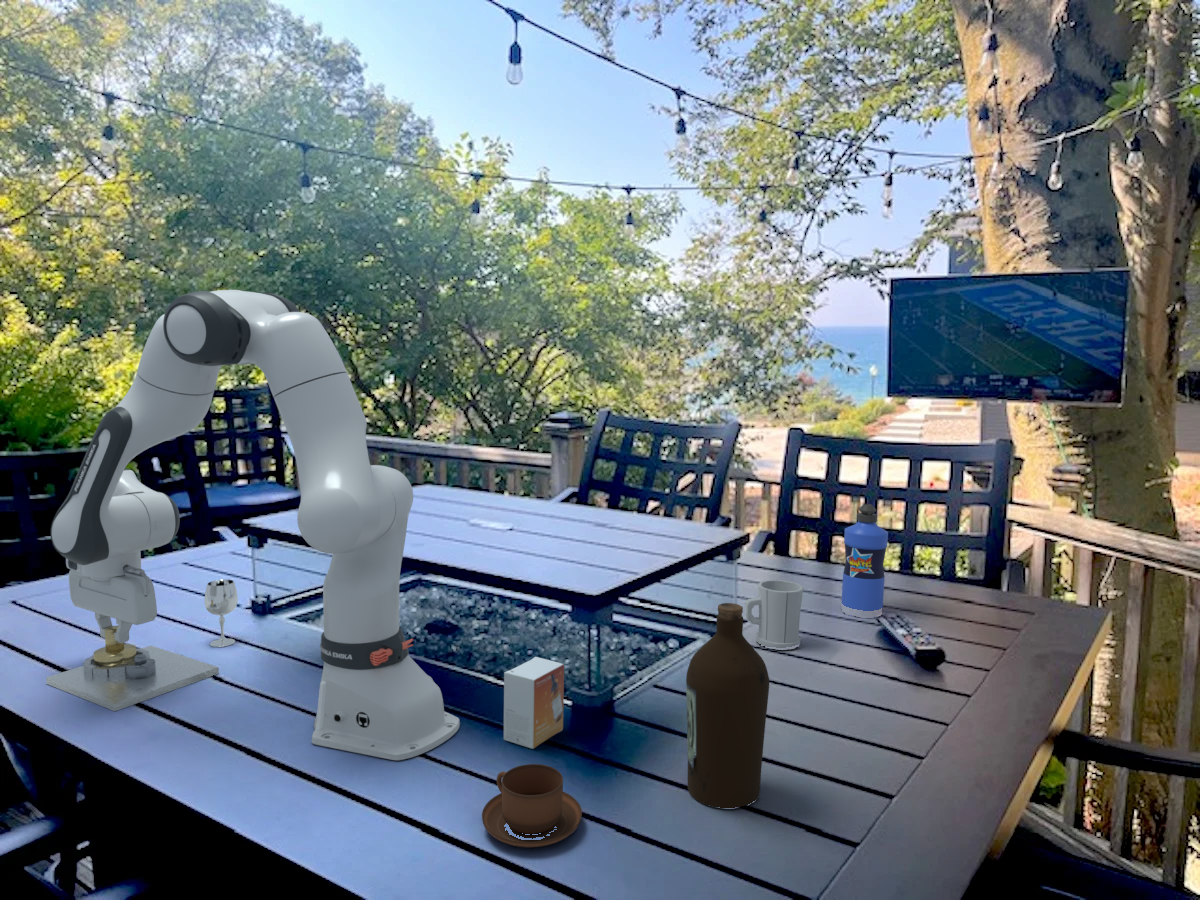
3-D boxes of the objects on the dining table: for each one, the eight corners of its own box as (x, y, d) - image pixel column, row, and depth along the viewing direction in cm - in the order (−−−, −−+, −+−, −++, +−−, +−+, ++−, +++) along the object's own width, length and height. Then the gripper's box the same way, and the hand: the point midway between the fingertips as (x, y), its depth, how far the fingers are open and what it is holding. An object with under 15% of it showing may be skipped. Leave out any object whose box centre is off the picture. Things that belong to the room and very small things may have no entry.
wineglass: (226, 649, 153) (224, 588, 151) (199, 646, 154) (197, 585, 153) (245, 639, 158) (243, 579, 157) (219, 636, 159) (217, 577, 158)
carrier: (218, 673, 141) (218, 649, 141) (114, 711, 126) (113, 684, 125) (150, 651, 151) (149, 628, 150) (46, 683, 135) (45, 658, 135)
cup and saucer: (463, 843, 93) (463, 793, 93) (510, 792, 105) (510, 747, 104) (557, 868, 89) (558, 816, 89) (596, 812, 100) (597, 765, 100)
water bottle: (848, 603, 190) (853, 499, 187) (888, 611, 185) (894, 504, 182) (834, 613, 183) (840, 504, 180) (875, 621, 177) (882, 509, 174)
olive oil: (763, 774, 110) (771, 597, 107) (765, 817, 100) (774, 622, 97) (685, 766, 112) (691, 592, 109) (679, 808, 101) (686, 616, 99)
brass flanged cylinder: (144, 656, 142) (143, 626, 141) (108, 668, 136) (107, 636, 135) (121, 650, 144) (120, 620, 144) (85, 661, 139) (84, 630, 138)
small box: (532, 750, 116) (533, 680, 114) (502, 740, 119) (502, 671, 117) (564, 729, 122) (565, 663, 121) (534, 720, 125) (535, 655, 124)
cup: (777, 656, 155) (780, 596, 153) (740, 643, 161) (742, 585, 160) (809, 645, 161) (812, 586, 160) (772, 633, 168) (774, 577, 167)
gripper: (165, 566, 136) (168, 645, 138) (97, 550, 146) (100, 623, 147) (128, 574, 131) (131, 656, 132) (60, 557, 140) (63, 633, 142)
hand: (114, 639), depth 140 cm, fingers closed on brass flanged cylinder, 3 cm apart
